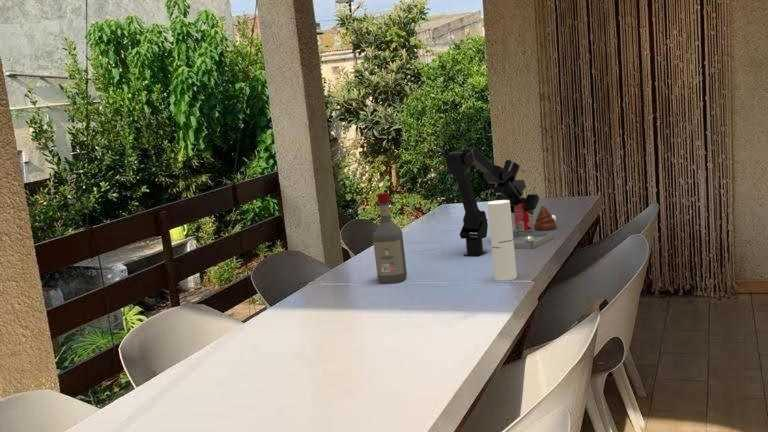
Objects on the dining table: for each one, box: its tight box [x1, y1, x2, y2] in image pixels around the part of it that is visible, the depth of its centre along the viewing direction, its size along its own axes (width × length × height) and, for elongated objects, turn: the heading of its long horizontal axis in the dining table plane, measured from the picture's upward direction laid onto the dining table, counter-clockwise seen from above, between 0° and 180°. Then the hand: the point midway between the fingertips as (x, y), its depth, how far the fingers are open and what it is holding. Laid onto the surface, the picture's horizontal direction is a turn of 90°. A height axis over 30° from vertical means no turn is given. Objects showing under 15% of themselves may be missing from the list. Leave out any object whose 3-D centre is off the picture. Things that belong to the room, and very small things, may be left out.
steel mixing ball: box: [524, 235, 534, 243], centre depth 318 cm, size 4×4×4 cm
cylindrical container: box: [487, 200, 518, 282], centre depth 274 cm, size 7×7×25 cm
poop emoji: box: [533, 205, 557, 232], centre depth 347 cm, size 10×8×9 cm
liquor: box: [372, 192, 408, 285], centre depth 289 cm, size 9×9×30 cm
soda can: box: [513, 203, 534, 233], centre depth 340 cm, size 7×7×12 cm
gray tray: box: [513, 231, 555, 250], centre depth 325 cm, size 18×16×2 cm
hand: (524, 213), depth 341 cm, fingers closed on soda can, 7 cm apart
